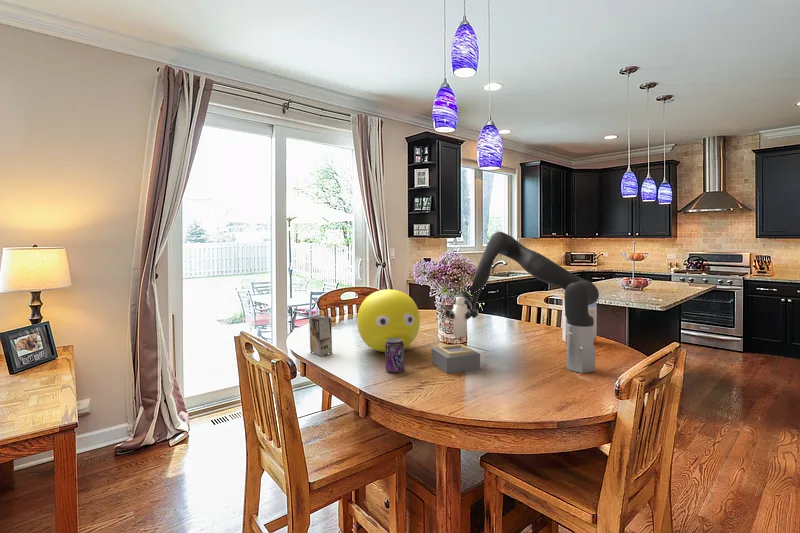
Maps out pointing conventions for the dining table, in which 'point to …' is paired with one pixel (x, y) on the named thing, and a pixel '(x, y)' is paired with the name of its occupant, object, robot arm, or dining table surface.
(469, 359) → the display riser
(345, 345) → the dining table surface
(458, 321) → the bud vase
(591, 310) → the cracker box
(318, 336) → the coffee box
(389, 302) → the head sculpture
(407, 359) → the dining table surface
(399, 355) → the beverage can
